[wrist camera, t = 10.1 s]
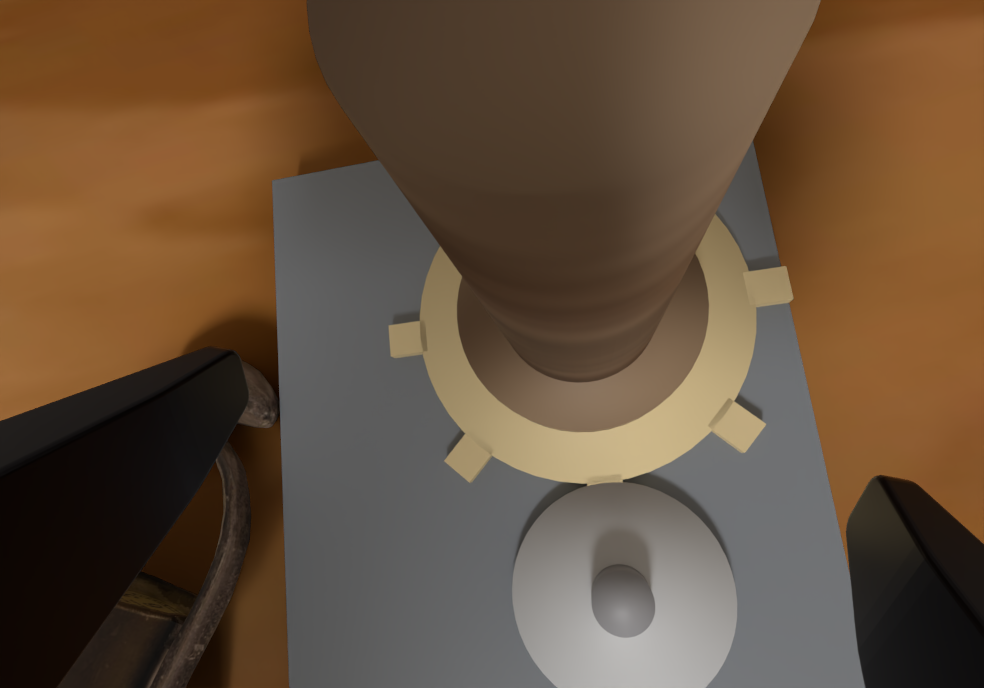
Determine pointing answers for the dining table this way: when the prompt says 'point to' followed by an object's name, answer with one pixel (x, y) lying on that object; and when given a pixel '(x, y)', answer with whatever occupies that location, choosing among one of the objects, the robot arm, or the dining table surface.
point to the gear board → (541, 480)
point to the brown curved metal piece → (178, 589)
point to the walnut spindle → (565, 172)
